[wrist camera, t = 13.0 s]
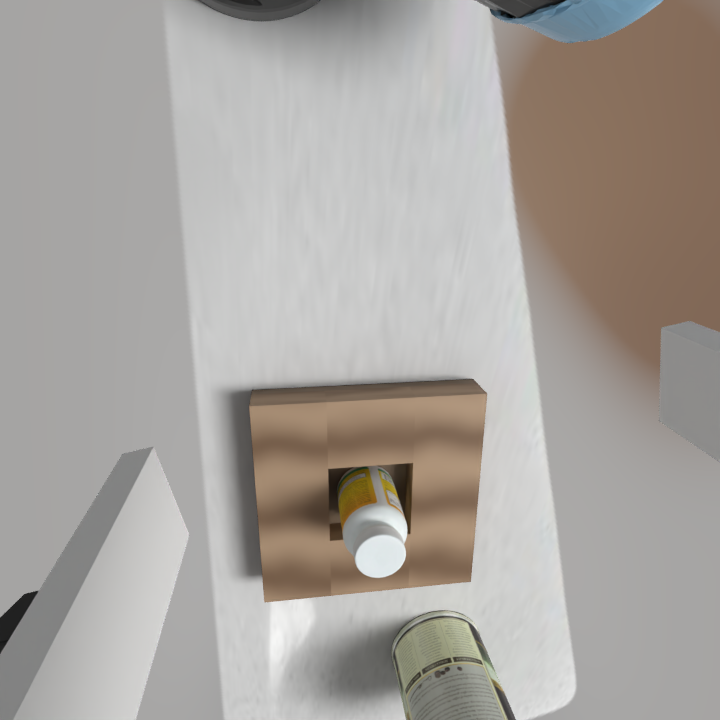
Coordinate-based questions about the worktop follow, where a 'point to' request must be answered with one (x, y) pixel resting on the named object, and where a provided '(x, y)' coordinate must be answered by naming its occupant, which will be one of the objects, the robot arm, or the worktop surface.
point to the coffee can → (447, 671)
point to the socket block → (356, 449)
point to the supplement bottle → (372, 520)
